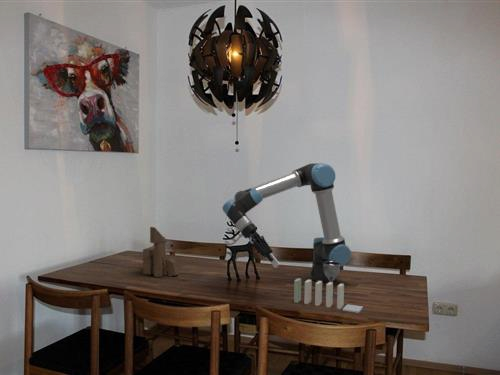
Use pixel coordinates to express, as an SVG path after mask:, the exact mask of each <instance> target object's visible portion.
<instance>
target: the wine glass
mask: <svg viewBox="0 0 500 375" xmlns="http://www.w3.org/2000/svg"><path fill="white" fill-rule="evenodd" d="M340 267H341V266H340V263H339V262H333V261H326V262H323V269H324V274H325V275H326V277H327V278H328V279H329V281H330V282H333V283H334V281H333V280H334V279H335V278H336V277H337V278H338V275H339V273H340V269H341V268H340ZM323 294H324V295H326V291H324V292H323ZM333 296H337V291H333Z"/></svg>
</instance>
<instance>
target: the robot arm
mask: <svg viewBox="0 0 500 375" xmlns="http://www.w3.org/2000/svg"><path fill="white" fill-rule="evenodd" d="M335 180H336V172H335V170H334V168H333V167H332V166H331V165H330V164H328V163H324V162H319V163H314V162H313V163H308V164H305V165H304V166H301V167H299V168H297V169H294V170H292V172H291V173H289V174H286V175H283V176H281V177H277V178H275V179H271V180H270V181H266V182H264V183H262V184H258V185H255V186H252V187H250V188H247V189H245V190H239V191H237V192H235V194H234V197H233V198H234V199H233V198H232V199H230V200H227V201H226V202H224V204H222V205H223V206H222V211H223V213H224V214H225V215H226V217H227V218H228V219H229V220H230V221H231V222H232V224H233V225H234V226H235V227H236V229H237V230H238V231H239V232H240V233H241V234H240V235H242V237H244V239H248V244H249V245H251V246H252V247H253V248H254V249H255V250H256V251H257V252H258V253H259V254H260V255H261V256H262V257H263V259H267V260H268V261H269V263H270V264H271V265H272V267H274V268H275V269H276V268H278V267H279V265H281V263H280V262H279V261H278V260H277V258H276V257H275V256H274V254H273V250H272V248H271V246H270V245H269V243H268V242H267V240H266V239H265V236H264V235H260V234H259V233H258V232H257V230H258V227H257V226H256V225H255V224H254V223H253V222H252V220H251V219H250V218H249V215H247V213H248V212H249V211H251V210H252V209H254V208H255V207H257V206H258V205H260V203H261V202H262V201H263V200H264V199H266V198H269V197H272V196H274V195H277V194H280V193H283V192H285V191H287V190H291V189H294V188H296V187H297V188H302V187H305V186H310V189H311V192H312V193H313V194H314V195H315V199H316V200H315V201H316V203H317V205H316V206H317V209H318V214H319V219H320V224H321V228H322V233H323V237H320V236H319V237H314V238H313V246H312V248H313V249H312V250H313V251H312V252H313V256H312V259H313V260H312V262H313V263H312V267H311V269H310V272H309V280H312V281H315V282H318V281H322V283H325V282H326V283H329V282H330V281H329V279H328V278H327V277H326V275H325V274H324V269H323V262H326V261H333V262H339V263H340V267H343V266H346V264H348V262H349V261H350V259H351V257H352V251H351V249H350V247H349V246H348V245H346V241H345V237H344V236H343V235H341V232H340V230H341V229H340V226H339V221H338V216H337V210H336V205H335V200H334V195H333V190H334V188H335V185H334V183H335ZM337 280H338V276H337V277H336V278H335V279H334V280H333V282H336V281H337Z"/></svg>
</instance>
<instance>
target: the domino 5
mask: <svg viewBox="0 0 500 375" xmlns="http://www.w3.org/2000/svg"><path fill="white" fill-rule="evenodd" d="M336 289H337V291H336V292H337V295H336V297H337V298H336V310H341V309H343V308H344V307H345V305H344V304H345V303H344V301H345V299H344V298H345V284H344V283H341V282H340V284H338V285H337V287H336Z"/></svg>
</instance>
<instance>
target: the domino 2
mask: <svg viewBox="0 0 500 375" xmlns="http://www.w3.org/2000/svg"><path fill="white" fill-rule="evenodd" d="M312 281H313V280H312V279H306V281H304V300H303V301H304V305H309V304H310V303H311V302H312V289H313V288H312V287H313V285H312V283H313V282H312Z"/></svg>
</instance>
